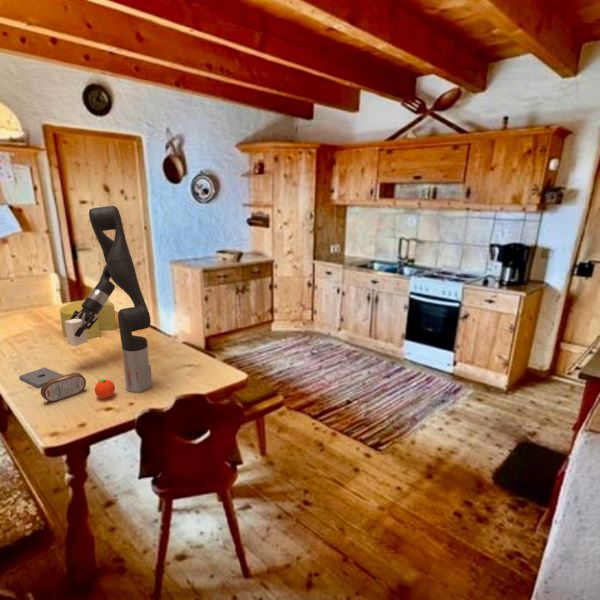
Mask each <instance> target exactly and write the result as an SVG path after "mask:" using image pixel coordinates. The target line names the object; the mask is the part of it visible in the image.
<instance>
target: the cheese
mask: <svg viewBox="0 0 600 600" xmlns="http://www.w3.org/2000/svg"><path fill="white" fill-rule="evenodd" d="M84 301H85V300H80V301H74V302H71V303H68V304H66V305H64V306H62V307H61V308H60V309H59V313H60V321H61V329H62V334H63V338H64V337H65V338H66V339H67V335H66V328H65V321H68V320H70V319H71V317H72V315H73V313H74V311H78V312H80V311H81V310H82V309H83V308H82V304H83V302H84ZM115 310H116V309H115V304H114V303H112V301H111V302H110V301H108V300H107V302H106V303H105V305H104V306H103V308H102V309H101V311H100V312H99V314H97V315H96V314H95V316H96V317H97V318H98V320H97V321H96V322H95V323H94V324H93V325H92V327H91V328H90V329H86V332H87V340H92V338H93V339H97V337H99V338H101V335H100V332H101V331H103V332H105V331H116V330H117V322H116V321H117V320H116V313H115V312H116V311H115ZM89 325H90V324H89ZM89 325H88V326H89Z"/></svg>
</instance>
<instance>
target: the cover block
mask: <svg viewBox="0 0 600 600" xmlns="http://www.w3.org/2000/svg"><path fill="white" fill-rule="evenodd" d="M81 320H82V319H71V320H68V321H65V328H66V335H67V338H66V341H67V342H66V343H67V344H68V345H72V346H74V347H77V346H81V345H83V344H86V343H88V340H89V339H87V332H86V330H84V331H83V333H82V334H81V335H80V337H77V336H75V333H76V331H77V330H78V328H79V327H80V325H81V324H82V321H81Z"/></svg>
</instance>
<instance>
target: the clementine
mask: <svg viewBox="0 0 600 600" xmlns="http://www.w3.org/2000/svg"><path fill="white" fill-rule="evenodd" d="M115 390H116V386H115V384H114V382H113V381H111V380H110V379H104V378H102V379H99V380H98V381H97V382H96V384H95V387H94V394H95V395H96V396H97V398H100V399H108V398H110V397H112V396H113V394H115Z"/></svg>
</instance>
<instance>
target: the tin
mask: <svg viewBox="0 0 600 600" xmlns="http://www.w3.org/2000/svg"><path fill="white" fill-rule="evenodd" d="M86 385H87V380H86V377H84V376H83V374H81V373H80V372H72V373H69V374H65V375H64V376H61V377H58V378H54V379H51V380H49V381H47V382H46V383H45V384H44V385H43V386H42V387H41V388H40V396H41V397H42V398H43V399H44V400H46V401H48V402H58V401H61V400H64V399H67V398H69V397H73V396H76V395H78V394H80V393H81V392H83V390H84V389H85V387H86Z"/></svg>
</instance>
